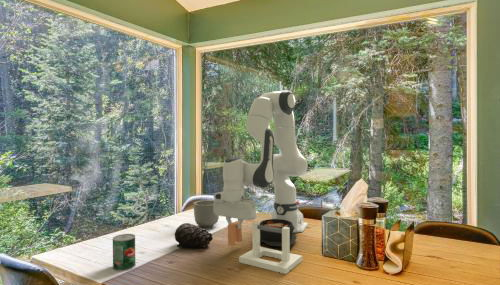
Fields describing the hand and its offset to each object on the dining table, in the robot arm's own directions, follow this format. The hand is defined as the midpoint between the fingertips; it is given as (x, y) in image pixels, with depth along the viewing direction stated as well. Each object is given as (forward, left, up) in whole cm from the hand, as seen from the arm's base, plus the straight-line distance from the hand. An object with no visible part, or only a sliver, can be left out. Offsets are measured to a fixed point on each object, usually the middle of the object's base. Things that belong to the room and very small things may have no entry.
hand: (234, 227), depth 133 cm
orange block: (0, 0, -7) cm, 7 cm away
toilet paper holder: (+3, +19, -10) cm, 21 cm away
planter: (-20, -33, -10) cm, 40 cm away
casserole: (-20, +9, -10) cm, 24 cm away
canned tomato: (+36, -25, -10) cm, 45 cm away
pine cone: (+5, -18, -10) cm, 21 cm away
